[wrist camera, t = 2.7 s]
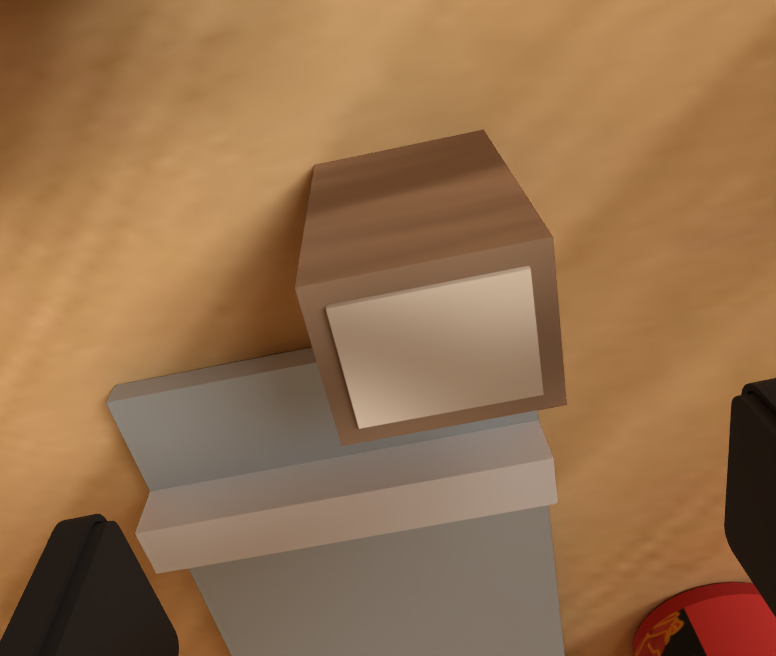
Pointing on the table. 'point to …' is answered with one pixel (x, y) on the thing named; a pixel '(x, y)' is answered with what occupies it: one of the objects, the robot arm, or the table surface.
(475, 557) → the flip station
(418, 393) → the walnut block
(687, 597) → the canned food
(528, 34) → the table surface
